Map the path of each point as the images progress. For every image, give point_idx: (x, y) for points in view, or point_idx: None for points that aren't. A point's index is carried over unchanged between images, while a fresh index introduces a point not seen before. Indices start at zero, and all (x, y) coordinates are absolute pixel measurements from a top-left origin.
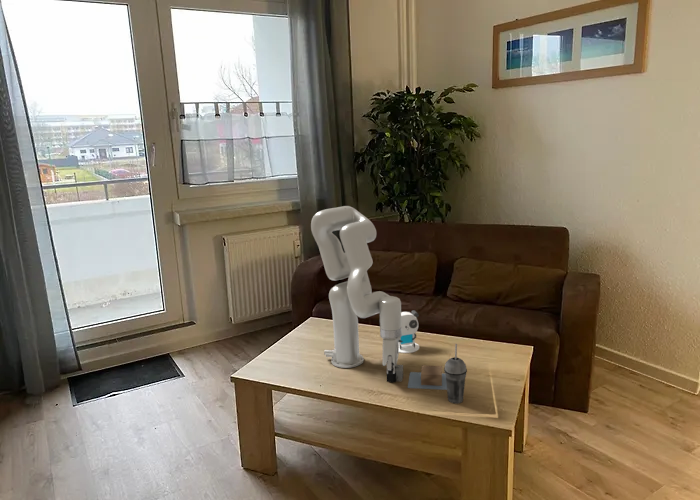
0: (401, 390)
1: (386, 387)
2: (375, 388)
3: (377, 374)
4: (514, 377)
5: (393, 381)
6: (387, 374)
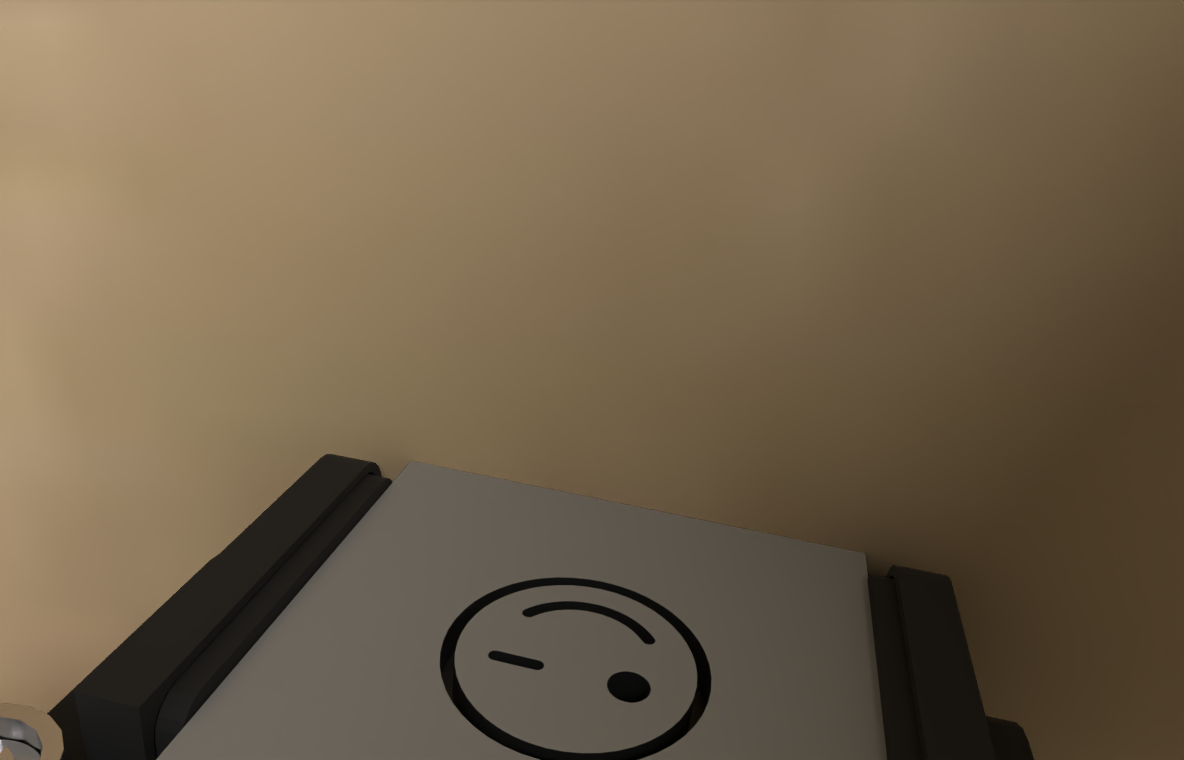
0: None
1: (168, 404)
2: (39, 59)
3: (1180, 117)
4: None
5: None
6: (126, 679)
